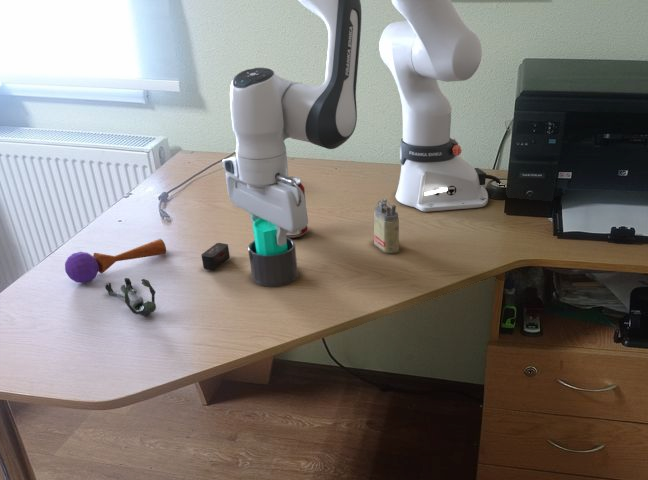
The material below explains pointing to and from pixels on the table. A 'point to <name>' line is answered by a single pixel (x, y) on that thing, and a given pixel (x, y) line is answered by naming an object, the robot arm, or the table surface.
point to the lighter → (386, 227)
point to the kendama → (106, 260)
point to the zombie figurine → (135, 305)
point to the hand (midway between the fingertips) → (270, 239)
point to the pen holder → (273, 266)
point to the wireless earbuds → (215, 256)
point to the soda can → (298, 182)
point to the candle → (266, 238)
